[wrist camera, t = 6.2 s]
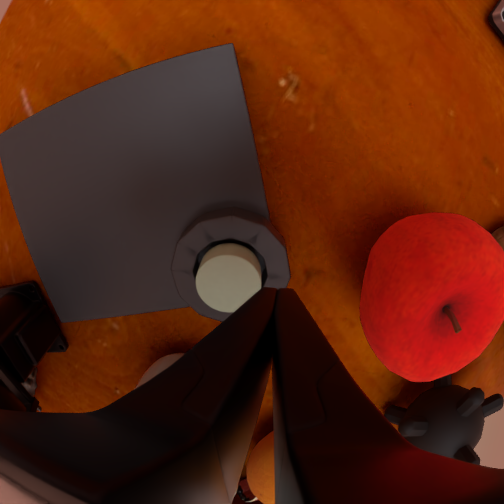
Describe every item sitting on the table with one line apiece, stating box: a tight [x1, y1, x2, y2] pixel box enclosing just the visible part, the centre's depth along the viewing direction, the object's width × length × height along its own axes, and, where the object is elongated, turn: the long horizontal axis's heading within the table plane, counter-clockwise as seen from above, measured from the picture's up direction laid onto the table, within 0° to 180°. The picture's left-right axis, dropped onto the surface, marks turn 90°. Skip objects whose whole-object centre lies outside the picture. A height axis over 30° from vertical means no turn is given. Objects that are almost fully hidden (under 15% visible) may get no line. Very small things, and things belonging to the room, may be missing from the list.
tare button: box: [195, 243, 261, 312], centre depth 16 cm, size 3×3×2 cm
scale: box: [0, 43, 291, 323], centre depth 17 cm, size 16×14×3 cm
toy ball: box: [384, 374, 504, 465], centre depth 20 cm, size 11×11×12 cm
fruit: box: [247, 430, 275, 504], centre depth 23 cm, size 10×10×8 cm
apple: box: [359, 212, 504, 382], centre depth 16 cm, size 9×9×8 cm
